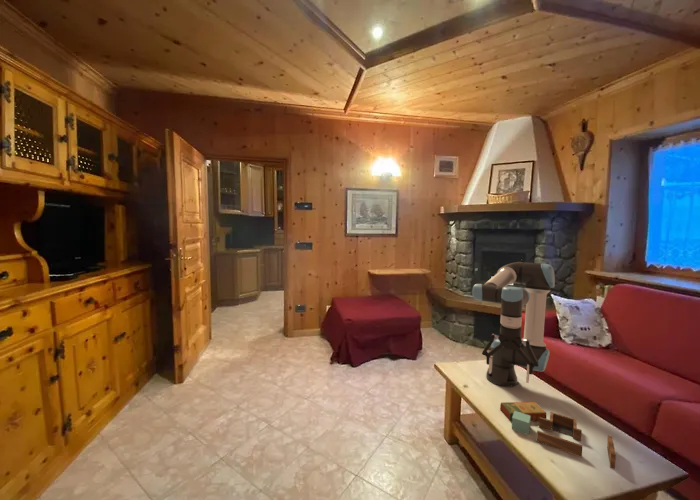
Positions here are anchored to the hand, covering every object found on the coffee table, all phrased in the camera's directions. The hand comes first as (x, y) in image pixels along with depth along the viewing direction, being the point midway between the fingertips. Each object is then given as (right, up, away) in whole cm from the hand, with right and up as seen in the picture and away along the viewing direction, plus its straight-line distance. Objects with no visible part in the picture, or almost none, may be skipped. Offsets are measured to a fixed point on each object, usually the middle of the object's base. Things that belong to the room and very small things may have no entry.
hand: (508, 376), depth 126 cm
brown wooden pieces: (+22, -23, -5) cm, 32 cm away
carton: (+12, -22, +11) cm, 27 cm away
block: (+6, -22, +2) cm, 23 cm away
